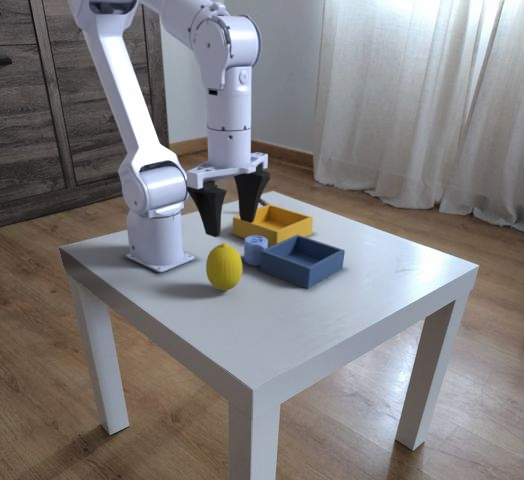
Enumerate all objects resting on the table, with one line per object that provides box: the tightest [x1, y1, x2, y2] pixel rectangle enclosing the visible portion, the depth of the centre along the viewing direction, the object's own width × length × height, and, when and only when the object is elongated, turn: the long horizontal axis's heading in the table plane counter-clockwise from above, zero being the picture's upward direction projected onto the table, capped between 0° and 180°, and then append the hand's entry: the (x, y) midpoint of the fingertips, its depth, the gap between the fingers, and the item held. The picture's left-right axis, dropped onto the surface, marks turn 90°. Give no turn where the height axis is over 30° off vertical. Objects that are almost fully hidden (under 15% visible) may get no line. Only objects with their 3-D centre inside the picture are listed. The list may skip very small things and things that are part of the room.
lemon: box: [205, 242, 243, 293], centre depth 75 cm, size 6×6×8 cm
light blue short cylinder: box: [243, 236, 268, 267], centre depth 86 cm, size 4×4×4 cm
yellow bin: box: [232, 203, 314, 247], centre depth 97 cm, size 11×11×4 cm
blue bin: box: [260, 235, 346, 289], centre depth 84 cm, size 10×10×4 cm
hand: (230, 227), depth 71 cm, fingers open, 7 cm apart
